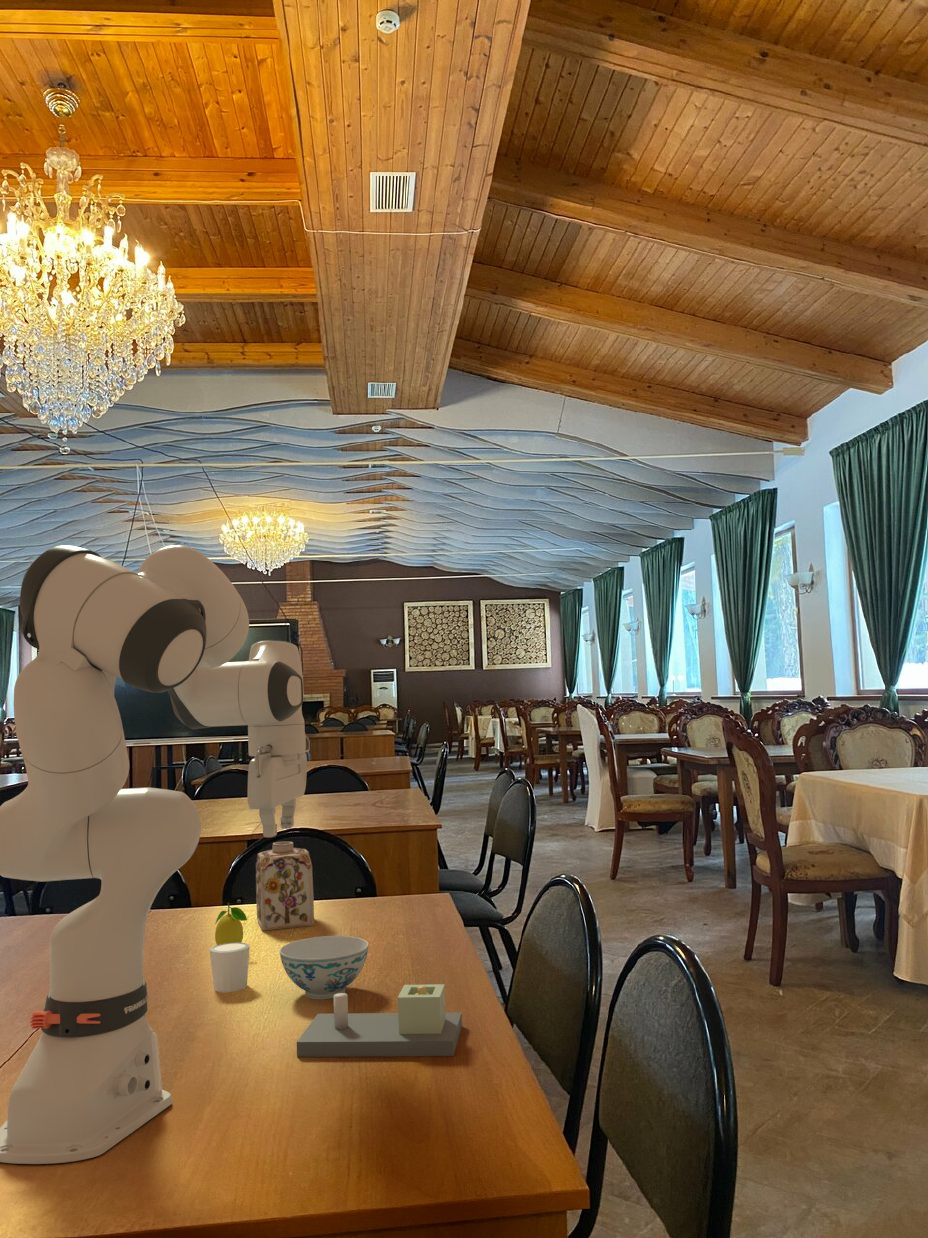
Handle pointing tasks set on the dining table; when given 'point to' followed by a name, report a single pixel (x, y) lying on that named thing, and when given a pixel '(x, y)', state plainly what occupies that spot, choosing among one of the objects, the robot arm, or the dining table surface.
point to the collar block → (421, 1010)
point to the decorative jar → (284, 888)
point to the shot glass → (230, 966)
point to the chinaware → (324, 963)
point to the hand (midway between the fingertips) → (279, 832)
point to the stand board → (373, 1034)
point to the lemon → (230, 926)
